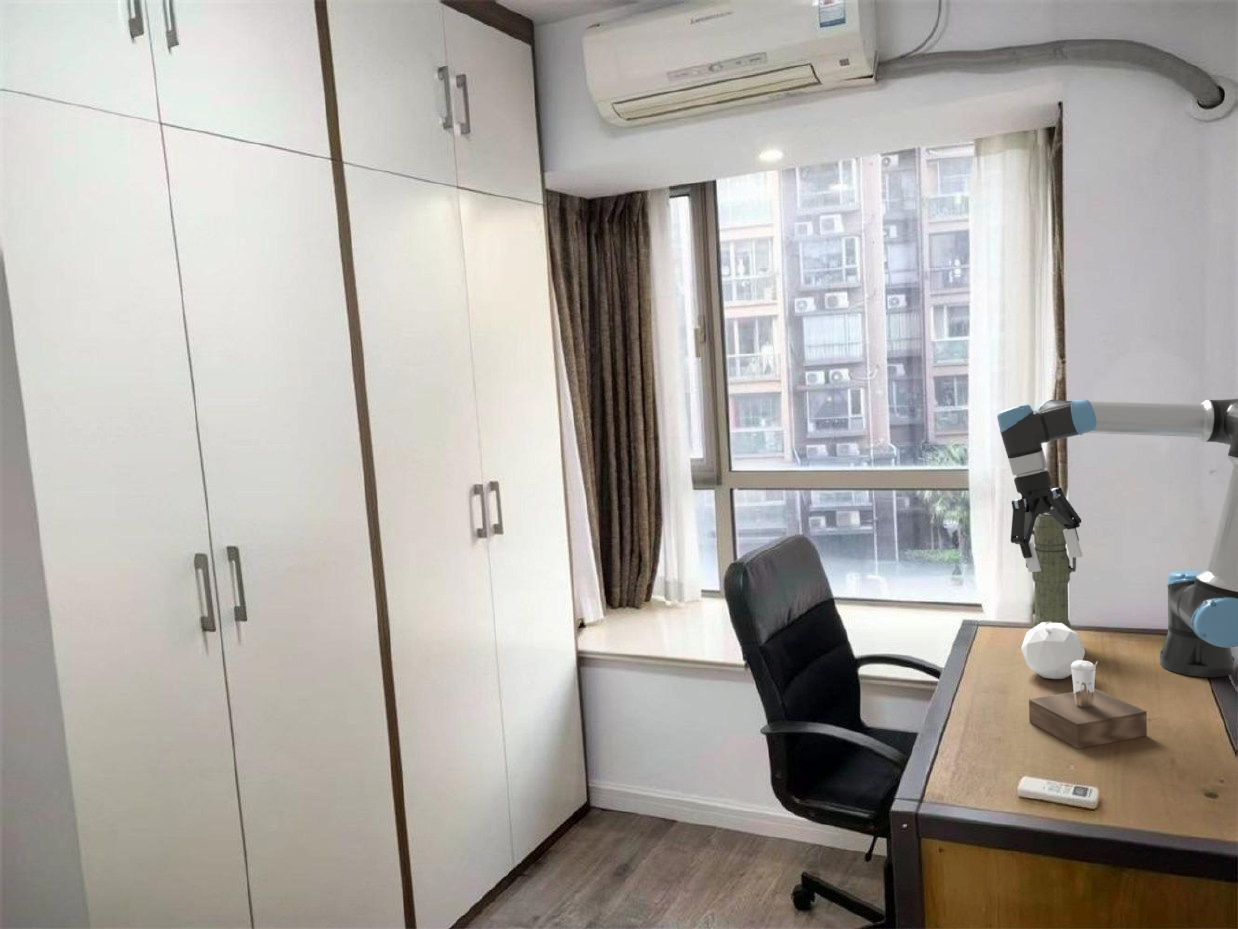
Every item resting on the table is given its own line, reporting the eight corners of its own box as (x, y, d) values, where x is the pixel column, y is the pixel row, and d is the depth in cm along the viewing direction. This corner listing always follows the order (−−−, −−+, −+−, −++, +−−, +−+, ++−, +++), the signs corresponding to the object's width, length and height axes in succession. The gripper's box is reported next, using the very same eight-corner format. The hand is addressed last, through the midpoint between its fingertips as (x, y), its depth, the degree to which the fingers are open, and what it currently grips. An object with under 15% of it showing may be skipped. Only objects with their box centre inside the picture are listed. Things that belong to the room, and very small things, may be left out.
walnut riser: (1094, 710, 191) (1094, 688, 191) (1146, 735, 178) (1146, 711, 177) (1029, 722, 188) (1029, 699, 187) (1077, 748, 174) (1077, 724, 174)
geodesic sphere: (1090, 669, 199) (1085, 612, 206) (1023, 666, 204) (1020, 609, 211) (1085, 689, 211) (1080, 633, 217) (1021, 685, 216) (1019, 631, 222)
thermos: (1026, 638, 240) (1023, 510, 236) (1076, 640, 235) (1073, 510, 231) (1027, 648, 232) (1024, 516, 228) (1078, 651, 227) (1076, 516, 223)
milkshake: (1091, 712, 179) (1090, 663, 178) (1066, 704, 183) (1065, 657, 182) (1105, 706, 181) (1104, 658, 180) (1080, 698, 185) (1079, 652, 184)
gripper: (1054, 465, 211) (1079, 552, 210) (978, 486, 201) (1003, 578, 200) (1081, 460, 205) (1107, 550, 203) (1004, 481, 194) (1030, 576, 193)
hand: (1056, 564), depth 201 cm, fingers open, 13 cm apart
